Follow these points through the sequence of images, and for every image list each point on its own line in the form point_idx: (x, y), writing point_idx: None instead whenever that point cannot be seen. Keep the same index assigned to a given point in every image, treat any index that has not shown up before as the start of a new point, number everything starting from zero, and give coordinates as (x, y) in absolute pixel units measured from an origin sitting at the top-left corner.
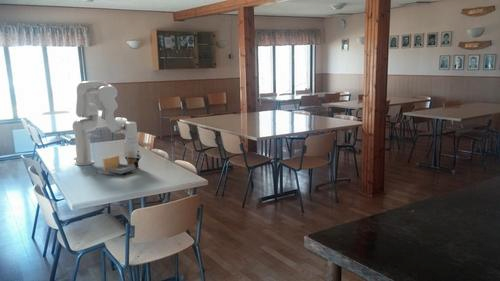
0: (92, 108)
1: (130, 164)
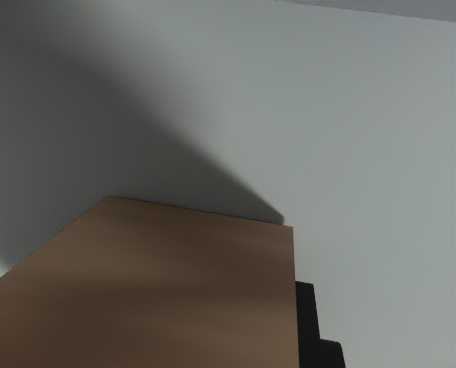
0: None
1: (159, 270)
